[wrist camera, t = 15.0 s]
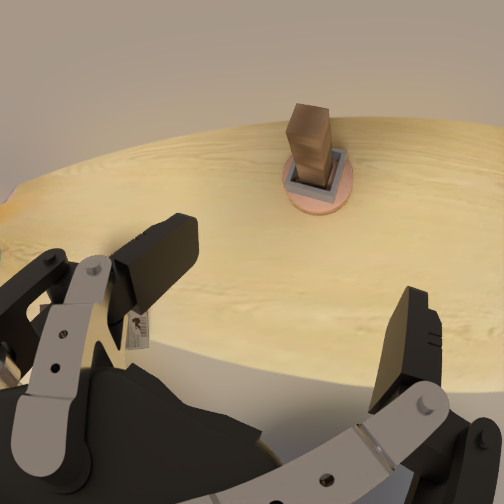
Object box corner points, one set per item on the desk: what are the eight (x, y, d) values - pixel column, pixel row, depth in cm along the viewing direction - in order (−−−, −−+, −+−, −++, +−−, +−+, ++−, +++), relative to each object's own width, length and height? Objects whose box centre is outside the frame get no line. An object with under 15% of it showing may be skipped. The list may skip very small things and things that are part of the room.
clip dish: (358, 164, 42) (360, 145, 37) (342, 224, 41) (342, 210, 36) (297, 149, 45) (292, 130, 40) (276, 205, 44) (268, 190, 39)
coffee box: (110, 347, 47) (39, 348, 32) (108, 311, 48) (37, 303, 33) (150, 349, 45) (77, 355, 30) (148, 310, 46) (76, 301, 31)
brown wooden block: (332, 166, 40) (328, 108, 28) (325, 191, 40) (319, 138, 27) (309, 160, 41) (296, 103, 29) (301, 184, 41) (285, 131, 28)
